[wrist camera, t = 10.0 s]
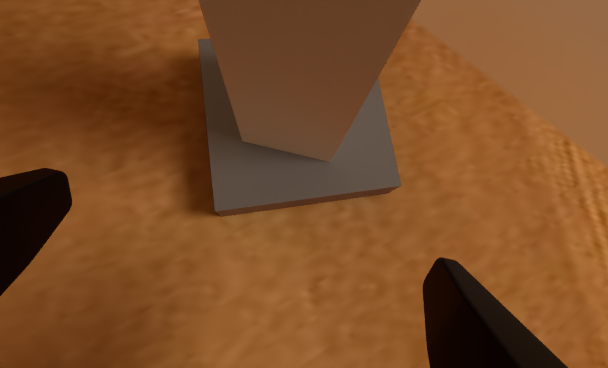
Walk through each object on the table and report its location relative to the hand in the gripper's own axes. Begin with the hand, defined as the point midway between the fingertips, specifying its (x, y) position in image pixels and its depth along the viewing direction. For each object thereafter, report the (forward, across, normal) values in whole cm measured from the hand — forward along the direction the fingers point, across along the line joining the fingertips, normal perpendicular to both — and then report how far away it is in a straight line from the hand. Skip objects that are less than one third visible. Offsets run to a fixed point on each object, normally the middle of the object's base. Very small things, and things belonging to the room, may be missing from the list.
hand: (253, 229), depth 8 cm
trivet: (+11, 0, +2) cm, 11 cm away
